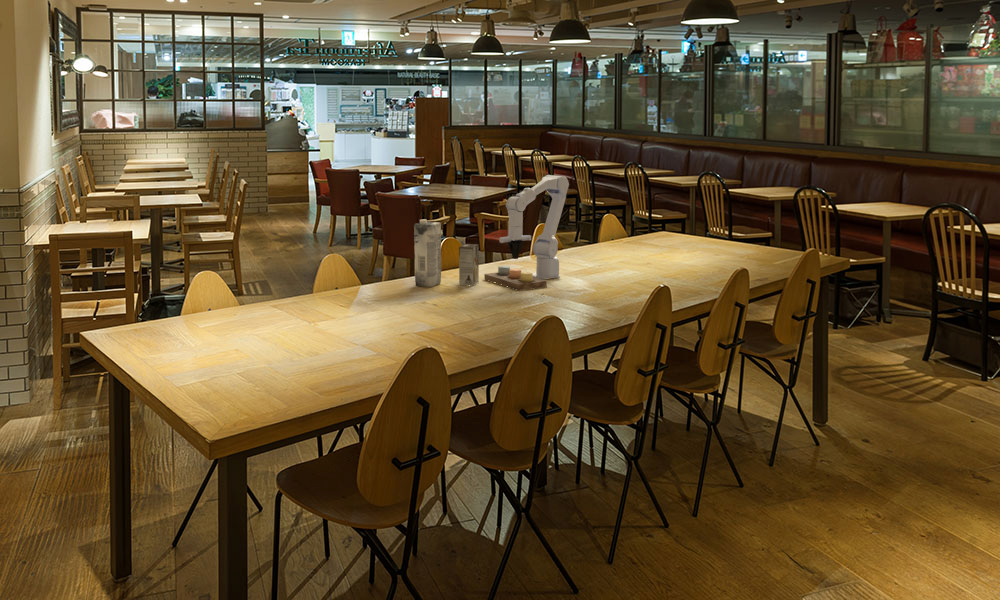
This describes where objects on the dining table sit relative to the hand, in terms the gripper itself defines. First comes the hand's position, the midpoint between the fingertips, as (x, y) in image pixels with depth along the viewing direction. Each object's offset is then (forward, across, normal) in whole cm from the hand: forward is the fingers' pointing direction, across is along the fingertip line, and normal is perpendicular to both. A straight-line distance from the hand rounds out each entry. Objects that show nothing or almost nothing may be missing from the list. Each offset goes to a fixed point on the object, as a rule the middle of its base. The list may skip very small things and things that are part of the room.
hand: (515, 258), depth 366 cm
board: (+10, 0, 0) cm, 10 cm away
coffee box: (+11, +17, -9) cm, 22 cm away
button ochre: (+8, 0, +8) cm, 12 cm away
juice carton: (+11, +33, -15) cm, 38 cm away
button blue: (+8, 0, -8) cm, 12 cm away
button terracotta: (+8, 0, 0) cm, 8 cm away
